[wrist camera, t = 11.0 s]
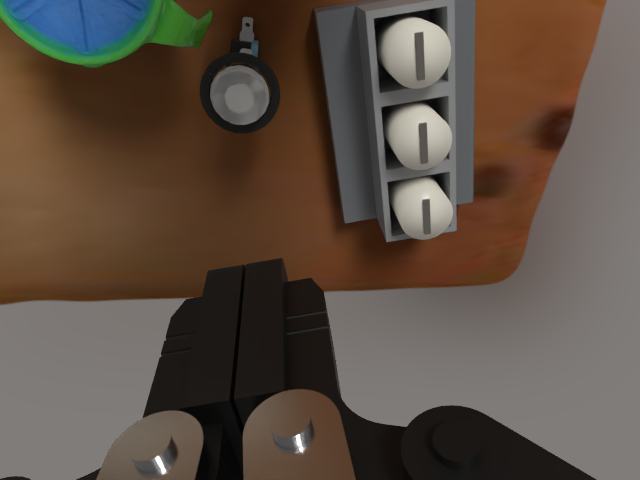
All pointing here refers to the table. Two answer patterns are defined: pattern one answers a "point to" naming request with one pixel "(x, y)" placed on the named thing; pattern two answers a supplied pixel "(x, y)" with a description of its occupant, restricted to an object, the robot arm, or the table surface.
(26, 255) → the table surface
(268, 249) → the table surface
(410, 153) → the knob mid
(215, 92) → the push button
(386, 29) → the knob
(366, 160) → the grey compartment box
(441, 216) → the knob
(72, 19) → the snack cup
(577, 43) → the table surface
